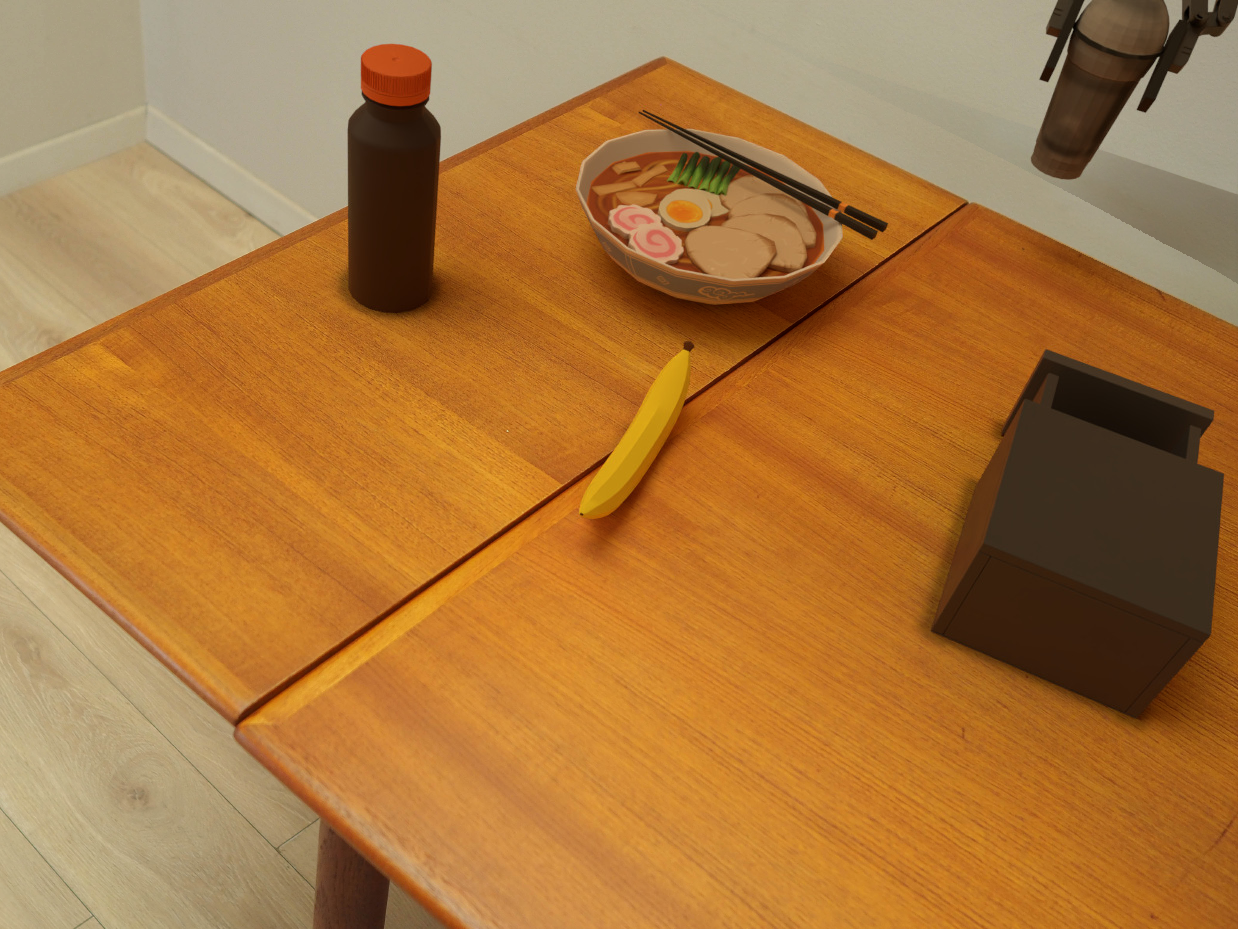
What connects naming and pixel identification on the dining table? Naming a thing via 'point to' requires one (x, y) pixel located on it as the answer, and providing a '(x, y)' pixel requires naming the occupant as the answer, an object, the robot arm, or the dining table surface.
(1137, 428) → the drawer
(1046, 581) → the cabinet
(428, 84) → the bottle
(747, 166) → the ramen bowl
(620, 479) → the banana
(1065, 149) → the beverage cup
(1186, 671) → the dining table surface
